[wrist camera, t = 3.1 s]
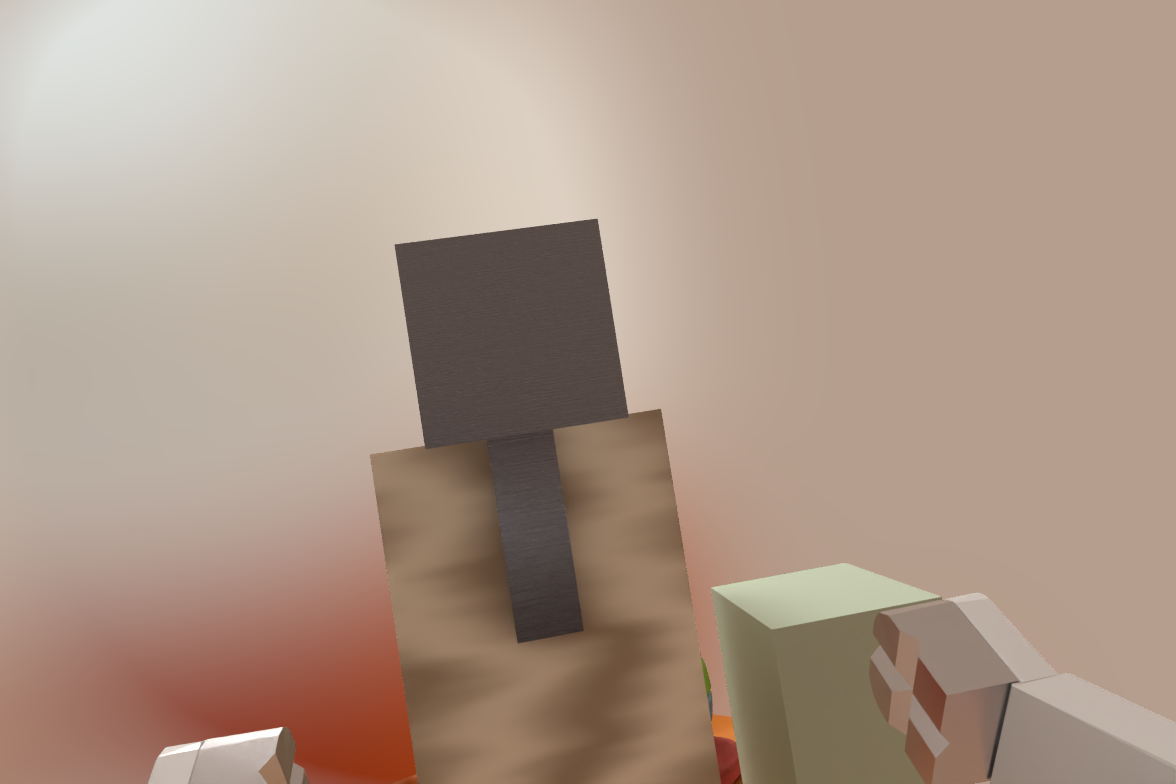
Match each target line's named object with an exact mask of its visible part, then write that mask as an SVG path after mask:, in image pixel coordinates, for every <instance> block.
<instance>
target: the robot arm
mask: <svg viewBox="0 0 1176 784" xmlns="http://www.w3.org/2000/svg"><path fill="white" fill-rule="evenodd" d="M873 635H874V636H875V638H876V639H877V641H878V642H879V644H880V646H879V647H878V648H877V649H876V650H875V652H874V653H873V654H872V655H871V657H870V667H869V677H870V682H871V687H872V692H873V695H874V698H875V700H876V702H877V705H878V707H879V709H880V711H881V713H882V715H883V716H884V718H885V720H886V721H887V723H888V724H889V725H891V726H892V727H894V728H896V729H897V730H899V731H901V732H902V733H904V734H906V735H907V736H906V743H905V752H906V754H907V755H908V757H909V759H910V760H911V762H912V763H913V765H914V767H915V768H916V770H917V771H918V773H919V775H920V776H921V778H922V779H923V781H924V783H925V784H975V783H980V782H985V781H990V784H1176V722H1173V721H1171V720H1169V719H1167V718H1165V717H1163V716H1161V715H1158V714H1156V713H1154V712H1152V711H1150V710H1147V709H1145V708H1143V707H1141V706H1139V705H1137V704H1135V703H1133V702H1130V701H1128V700H1126V699H1124V698H1122V697H1120V696H1117V695H1115V694H1113V693H1111V692H1109V691H1107V690H1105V689H1102V688H1100V687H1098V686H1096V685H1094V684H1092V683H1089V682H1087V681H1085V680H1083V679H1081V678H1079V677H1077V676H1075V675H1072V674H1070V673H1064V674H1058V673H1057V672H1056V671H1055V670H1054V669H1053V668H1052V667H1051V666H1050V665H1049V664H1048V663H1047V661H1046V660H1045V659H1044V658H1043V657H1042V656H1041V655H1040V654H1039V653H1038V652H1037V650H1036V649H1035V648H1034V647H1033V646H1032V645H1031V644H1030V643H1029V642H1028V641H1027V640H1026V638H1024V636H1023V635H1022V634H1021V633H1020V632H1019V631H1018V630H1017V629H1016V627H1015V626H1014V625H1013V624H1012V623H1011V622H1010V621H1009V620H1008V619H1007V618H1006V617H1005V615H1004V614H1003V613H1002V612H1001V611H1000V610H999V609H998V608H997V607H996V606H995V605H994V603H993V602H992V601H991V600H990V599H989V598H988V597H987V596H985V595H983V594H981V593H979V592H978V593H973V594H968V595H963V596H958V597H954V598H948V599H945V600H937V601H932V602H927V603H923V604H918V605H913V606H908V607H903V608H898V609H893V610H888V611H883V612H879V613H878V615H877V616H876V618H875V620H874V627H873ZM295 748H296V745H295V742H294V739H293V737H292V734H291V732H290V729H289V728H285V727H281V728H275V729H269V730H263V731H257V732H251V733H245V734H239V735H233V736H227V737H221V738H215V739H209V740H206V741H201V742H195V743H189V744H183V745H177V746H172V747H166V748H165V749H164V750H163V751H162V753H161V754H160V755H159V757H158V758H157V759H156V762H155V765H154V768H153V771H152V774H151V776H150V779H149V782H148V784H309V782H308V779H307V776H306V773H305V770H304V768H302V767H300V766H298V765H296V764H295V763H293V761H294V755H295Z"/></svg>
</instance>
